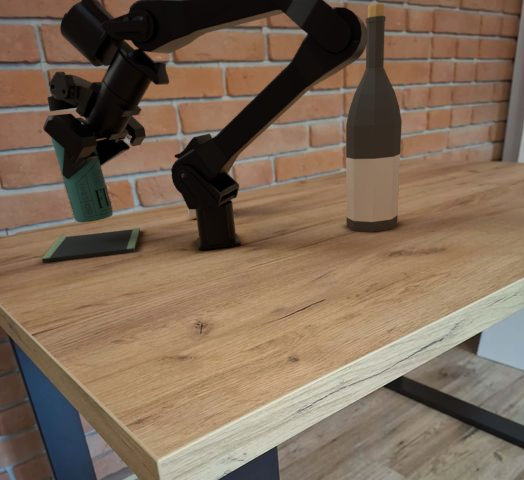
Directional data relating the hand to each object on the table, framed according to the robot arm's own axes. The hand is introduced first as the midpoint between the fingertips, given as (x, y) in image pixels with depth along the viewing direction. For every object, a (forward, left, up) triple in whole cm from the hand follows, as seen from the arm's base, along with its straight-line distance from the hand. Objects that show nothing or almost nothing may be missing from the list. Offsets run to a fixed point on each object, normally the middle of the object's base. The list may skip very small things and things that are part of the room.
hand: (76, 173), depth 82 cm
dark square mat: (-2, -1, -11) cm, 12 cm away
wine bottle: (-10, -46, -12) cm, 48 cm away
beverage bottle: (-1, -1, -9) cm, 9 cm away
